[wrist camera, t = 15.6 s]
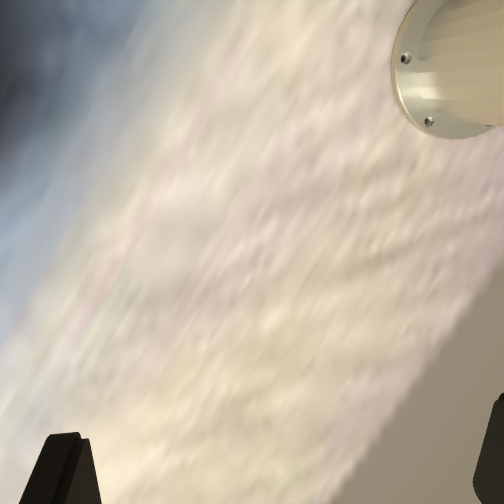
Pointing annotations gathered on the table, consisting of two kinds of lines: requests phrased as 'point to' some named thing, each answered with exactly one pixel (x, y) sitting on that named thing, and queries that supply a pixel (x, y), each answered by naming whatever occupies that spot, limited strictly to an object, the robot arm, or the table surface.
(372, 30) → the table surface
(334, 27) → the table surface
